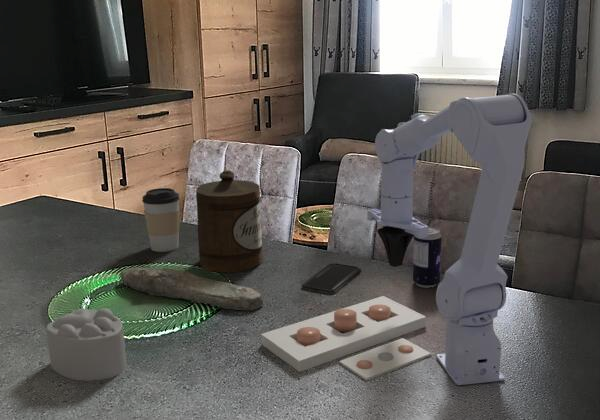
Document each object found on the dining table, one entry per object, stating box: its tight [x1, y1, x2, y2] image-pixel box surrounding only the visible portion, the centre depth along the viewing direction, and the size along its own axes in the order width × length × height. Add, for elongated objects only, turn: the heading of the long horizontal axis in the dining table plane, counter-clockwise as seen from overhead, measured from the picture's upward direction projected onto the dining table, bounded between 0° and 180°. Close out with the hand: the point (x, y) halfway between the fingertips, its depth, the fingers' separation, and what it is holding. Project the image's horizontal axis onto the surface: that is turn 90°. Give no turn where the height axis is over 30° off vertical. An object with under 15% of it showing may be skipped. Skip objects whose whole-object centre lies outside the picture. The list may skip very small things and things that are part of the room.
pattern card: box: [338, 337, 432, 382], centre depth 114 cm, size 14×7×1 cm, turn 124°
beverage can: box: [412, 226, 442, 289], centre depth 143 cm, size 6×6×12 cm
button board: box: [260, 295, 427, 373], centre depth 123 cm, size 28×12×2 cm, turn 124°
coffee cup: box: [141, 187, 180, 253], centre depth 170 cm, size 9×9×15 cm
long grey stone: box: [119, 266, 264, 311], centre depth 143 cm, size 35×5×10 cm
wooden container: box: [195, 170, 263, 273], centre depth 158 cm, size 15×15×22 cm
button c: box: [297, 327, 320, 347], centre depth 118 cm, size 4×4×2 cm
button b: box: [334, 308, 357, 332], centre depth 122 cm, size 4×4×2 cm
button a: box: [369, 305, 391, 322], centre depth 127 cm, size 4×4×2 cm
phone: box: [301, 262, 362, 295], centre depth 149 cm, size 8×1×15 cm
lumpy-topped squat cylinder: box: [46, 307, 128, 381], centre depth 114 cm, size 10×13×9 cm
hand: (395, 265), depth 127 cm, fingers closed
